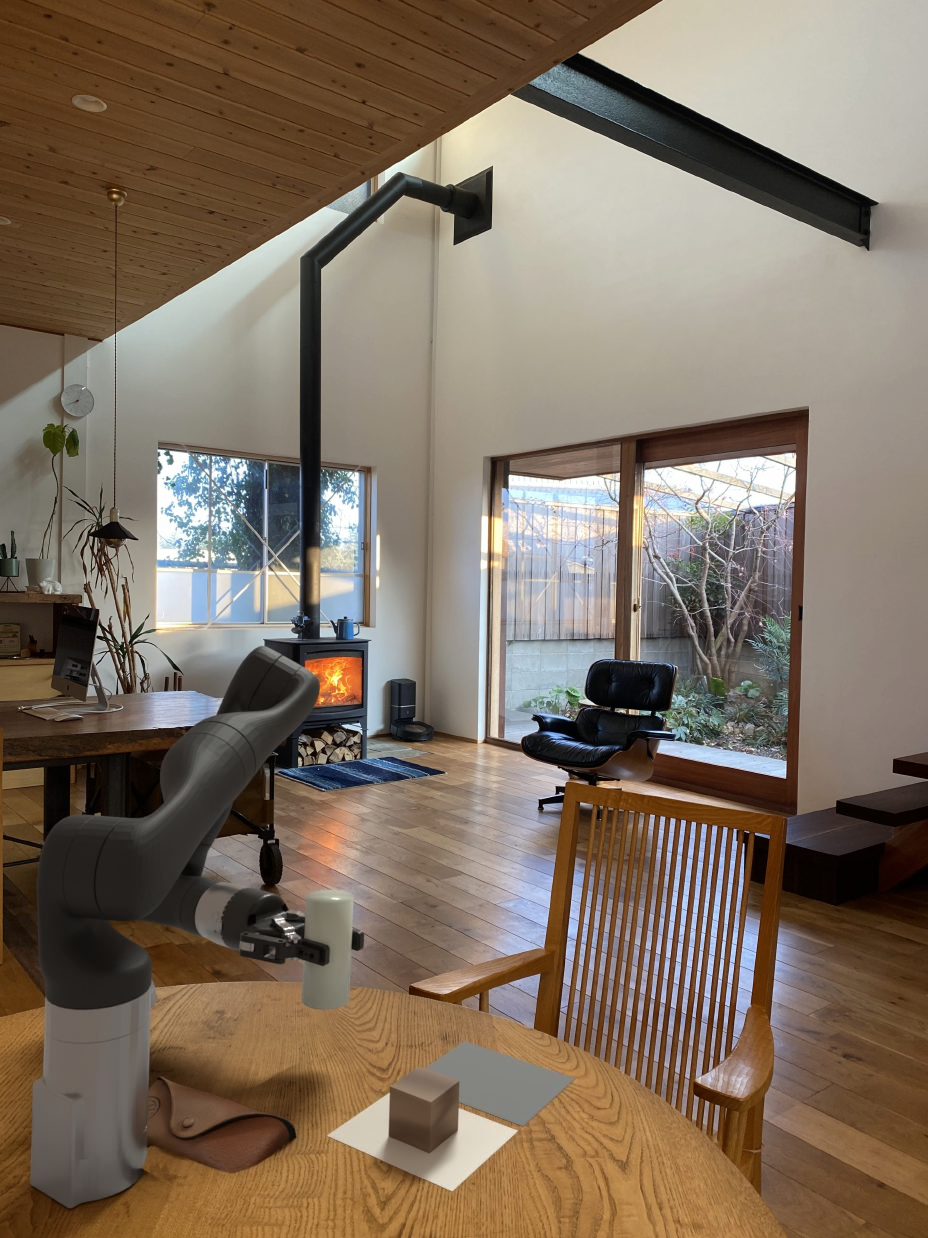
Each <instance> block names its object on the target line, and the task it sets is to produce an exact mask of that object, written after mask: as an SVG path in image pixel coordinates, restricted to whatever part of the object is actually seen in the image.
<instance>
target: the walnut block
mask: <svg viewBox="0 0 928 1238" xmlns="http://www.w3.org/2000/svg"><path fill="white" fill-rule="evenodd" d="M425 1068H426V1067H422V1066H419V1065H418V1066H417V1067H416V1068H415V1069H414V1070H413V1069H412V1071H411V1072H409V1073H407V1074H406V1075H404V1076H403V1077H402V1078H400V1079H399V1080H397V1081H396V1082H394V1083H393V1084H391V1085H389V1093H390V1102H389V1135H388V1136H389V1137H391V1138H394V1139H396V1140H398V1141H401V1142H403V1143H406V1144H408V1145H410V1146H413V1147H415V1148H417V1149H420V1150H422V1151H424V1152H427V1153H429V1154H430V1153H431V1152H432V1151H433V1150H435V1149H436V1148H437V1147H438V1146H439V1145H441V1144H442V1143H443V1142H444V1141H445V1140H447V1139H448V1138H449V1137H450V1136H451V1135H453V1134H454V1133H455V1132H456V1131H458V1115H459V1108H460V1107H459V1106H460V1104H459V1082H460V1081H458V1080H455V1079H453V1078H450V1077H447V1076H445V1075H442V1074H439V1073H436V1072H434V1071H431V1070H428V1069H425Z"/></svg>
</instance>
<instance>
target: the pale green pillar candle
mask: <svg viewBox="0 0 928 1238" xmlns="http://www.w3.org/2000/svg"><path fill="white" fill-rule="evenodd" d="M354 897H355V896H354V895H353V893H351V892H348V891H345V890H339V889H322V890H320V889H319V890H316V891H311V892H309V893H307V894H306V896H305V911H304V912H305V933H304V939H305V938H306V939H309V940H312V941H316V942H319V943H323V944H326V945H328V946H329V948H330V958H329V963H328V964H327V965H324V966H320V965H317V964H314V963H311V962H308V961H305V960H302V982H301V983H302V984H301V986H302V987H301V1003H302V1004H303V1006H305V1007H307V1008H310V1009H313V1010H324V1011H325V1010H326V1011H329V1010H335V1009H340V1008H342V1007H344V1006H347V1005H348V1003H349V1002H350V995H351V994H350V993H351V992H350V991H351V970H352V969H351V968H352V928H353V920H354V918H353V917H354V901H355V900H354Z"/></svg>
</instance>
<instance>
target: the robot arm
mask: <svg viewBox="0 0 928 1238" xmlns="http://www.w3.org/2000/svg"><path fill="white" fill-rule="evenodd" d="M320 693H321V683H320V680H319V678H318V677H317V675H315V674H314V673H313V672H312V671H311V670H309V669H308V668H307V667H304V666H302V665H300V664H299V663H298V662H296V661H293V660H291V659H290V658H288V657H286V656H285V655H283V654H282V653H280V652H278V651H276V650H274V649H272V648H270V647H268V646H265V645H260V646H257V647H255V648H254V649H253V650H252V651H250V652H249V653H248V655H247V656H246V657H245V658H244V659H243V660H242V662H241V663H240V665H239V666H238V668H237V670H236V671H235V673H234V675H233V677H232V678H231V681H230V683H229V685H228V687H227V688H226V691H225V694H224V695H223V698H222V700H221V702H220V705H219V707H218V710H217V713H216V714H215V715H212V716H209V717H206V718H204V719H202V720H200V721H199V722H197V723H195V724H194V725H192V727H191V728H190V729H189V730H187V731H186V732H185V734H182V736H181V737H180V738H179V739H178V740H177V741H176V742H175V743H174V744H173V745H172V746H171V747H170V748H169V749H168V751H167V752H166V754H165V755H164V757H163V760H162V762H161V766H160V771H159V775H160V776H159V783H160V790H161V794H162V799H163V803H162V804H161V805H160V806H159V807H158V808H157V809H156V810H155V811H154V812H152V813H151V814H149V815H147V816H144V817H138V818H137V817H135V818H134V817H119V816H107V815H93V814H72V815H68V816H66V817H64V818H62V819H61V820H59V821H58V822H57V823H55V824H54V826H53V827H52V828H51V830H50V831H49V832H48V834H47V836H46V838H45V840H44V842H43V845H42V849H41V851H40V854H39V861H38V866H37V874H36V875H37V878H36V906H37V908H36V909H37V934H38V935H37V936H38V962H39V968H40V971H41V975H42V977H43V979H44V982H45V985H44V987H45V989H44V993H45V994H44V995H45V997H44V998H45V999H44V1029H43V1030H44V1032H43V1035H44V1037H43V1065H42V1066H43V1068H42V1077H40V1078H38V1079H36V1080H35V1081H34V1082H33V1084H32V1103H31V1105H32V1107H31V1108H32V1109H31V1115H32V1116H31V1145H30V1146H31V1148H30V1150H31V1151H30V1183H29V1185H31V1186H32V1187H34V1188H36V1190H38V1191H41V1192H42V1193H44V1194H45V1195H47V1196H48V1197H50V1198H52V1199H54V1201H56V1202H58V1203H60V1204H62V1206H64V1207H66V1208H68V1209H73V1208H75V1207H76V1206H78V1205H80V1204H82V1203H87V1202H94V1201H98V1200H102V1199H105V1198H108V1197H109V1198H110V1197H111V1196H114V1195H116V1194H118V1193H121V1192H122V1191H124V1190H126V1189H127V1188H130V1187H131V1186H133V1184H135V1183H136V1182H137V1181H138V1180H139V1178H141V1177H142V1175H143V1174H144V1172H145V1169H144V1168H143V1166H144V1165H145V1163H146V1160H147V1156H148V1155H147V1154H148V1153H147V1152H148V1148H147V1128H148V1090H149V1089H150V1087H149V1084H150V1083H149V1081H150V1079H149V1078H150V1050H151V1049H150V1045H151V1044H150V1043H151V1012H152V1010H151V1009H152V1008H151V981H153V977H152V973H153V965H152V958H151V956H150V954H149V952H148V951H147V950H146V949H145V948H144V947H143V946H142V945H140V944H138V943H136V942H135V941H132V940H131V939H129V938H128V937H126V936H125V935H123V934H122V933H121V932H120V931H118V930H117V929H116V928H115V927H114V926H113V925H112V924H111V922H110V921H113V922H114V921H115V922H132V921H133V922H134V921H142V922H147V923H151V924H155V925H156V924H157V925H163V926H169V927H172V928H173V927H174V928H178V929H179V930H183V931H185V932H187V933H190V934H192V935H195V936H199V937H202V938H205V939H208V940H209V941H211V942H213V943H214V944H217V945H218V946H223V947H225V948H229V949H231V950H235V951H237V952H239V956H240V957H244V958H249V959H252V960H257V961H261V962H267V963H271V964H277V965H283V964H285V963H286V959H288V960H290V961H292V962H297V961H300V960H302V961H303V960H305V961H308V962H311V963H314V964H317V965H320V966H324V965H327V964H328V963H329V958H330V948H329V946H328V945H326V944H323V943H319V942H316V941H312V940H309V939H306V938H305V939H304V933H305V913H303V912H302V911H301V910H294V909H289V907H288V906H287V904H286V901H285V900H284V899H283V898H282V897H281V896H280V895H278V894H277V893H272V892H269V891H265V890H261V889H258V888H255V887H250V886H247V885H244V884H241V883H235V882H234V883H233V882H225V881H220V880H217V879H213V878H210V877H205V876H203V872H204V869H205V865H206V861H207V857H208V853H209V851H210V849H211V847H212V846H213V844H214V842H215V841H216V839H217V837H218V835H219V833H220V831H222V828H223V826H224V825H225V822H226V821H227V819H228V817H229V815H230V812H231V810H232V807H233V802H234V801H235V800H236V799H237V798H238V797H239V795H241V793H242V792H243V790H245V789H246V787H247V786H248V784H249V783H251V781H252V779H253V778H254V777H255V775H256V774H257V772H258V771H259V770H260V769H261V767H262V766H263V765H264V763H265V762H266V761H267V760H268V758H269V757H270V756H271V754H272V753H273V752H274V751H275V750H276V749H277V748H278V747H279V745H281V744H282V743H283V742H285V740H287V738H288V737H290V736H291V734H293V733H294V731H296V730H297V729H298V728H299V726H300V725H302V724H303V723H304V721H305V720H306V719H307V717H308V716H309V715H310V714H311V712H312V710H313V709H314V707H315V705H316V704H317V702H318V699H319V695H320ZM364 946H365V933H364V931H363V930H359V929H356V928H353V927H352V949H351V951H354V952H359V951H360V950H361V951H362V950H363V949H364V948H365V947H364ZM273 953H274V954H273Z"/></svg>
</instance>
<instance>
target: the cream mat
mask: <svg viewBox="0 0 928 1238" xmlns="http://www.w3.org/2000/svg"><path fill="white" fill-rule="evenodd" d="M389 1102H390V1092H388V1093H387V1094H385V1095H384V1096H383V1097H380V1098H379V1099H377V1101H375V1102H373V1103H372V1104H370V1105H369V1106H368V1107H366V1108H365V1109H364V1110H362V1111H360V1112H359V1113H357V1114H356V1115H355V1116H353V1117H351V1118H350V1119H349V1120H347V1121H346V1122H344V1123H343V1124H342V1125H340V1126H339V1127H337V1128H336V1129H334V1130H333V1131H331V1132H330V1133H329V1134H327V1135H326V1137H328V1138H330V1139H333V1140H335V1141H337V1142H339V1143H341V1144H344V1145H346V1146H349V1147H351V1148H353V1149H356V1150H358V1151H360V1152H362V1153H364V1154H366V1155H369V1156H371V1157H373V1158H376V1159H377V1160H380V1161H383V1162H384V1163H387V1164H388V1165H391V1166H394V1167H396V1168H398V1169H400V1170H402V1171H405V1172H407V1173H409V1174H411V1175H414V1176H415V1177H419V1178H420V1179H423V1180H425V1181H427V1182H429V1183H431V1184H433V1185H436V1186H438V1187H440V1188H442V1189H445V1190H447V1191H449V1192H454V1191H455V1190H456V1189H457V1188H459V1186H461V1184H463V1183H464V1182H465V1181H466V1180H467V1179H468V1178H469V1177H470V1176H471V1175H472V1174H474V1173H475V1172H476V1171H477V1170H478V1169H479V1168H480V1167H481V1166H482V1165H483V1164H484V1163H485V1162H487V1160H488V1159H490V1158H491V1157H492V1156H493V1155H494V1154H495V1153H496V1152H498V1150H500V1149H501V1147H503V1146H504V1145H505V1144H506V1143H507V1142H508V1141H510V1139H511V1138H513V1137H514V1136H515V1135H516V1134H517V1133H519V1131H518V1129H514V1128H512V1127H509V1126H506V1125H503V1123H502V1124H501V1123H499V1122H497V1121H494V1120H490V1119H488V1118H486V1117H483V1116H482V1115H481V1116H480V1115H478V1114H476V1113H473V1112H471V1111H467V1110H465V1109H462V1108H461V1107H459V1115H458V1131H456V1132H455V1133H454V1134H453V1135H451V1136H450V1137H449V1138H448V1139H447V1140H445V1141H444V1142H443V1143H442V1144H441V1145H439V1146H438V1147H437V1148H436V1149H435V1150H433V1151H432V1152H431V1153H430V1154H429V1153H427V1152H424V1151H422V1150H420V1149H417V1148H415V1147H413V1146H410V1145H408V1144H406V1143H403V1142H401V1141H398V1140H396V1139H394V1138H391V1137H389V1136H388V1135H389Z"/></svg>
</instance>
